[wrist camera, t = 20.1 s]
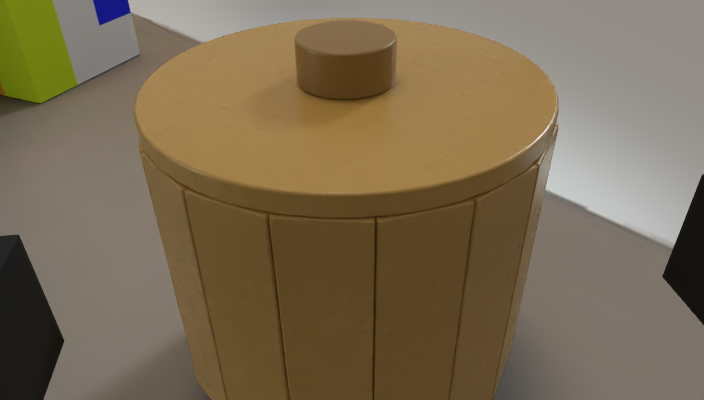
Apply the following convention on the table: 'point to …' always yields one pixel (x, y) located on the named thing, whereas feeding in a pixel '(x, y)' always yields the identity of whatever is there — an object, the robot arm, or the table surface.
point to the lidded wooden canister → (348, 206)
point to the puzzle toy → (61, 44)
